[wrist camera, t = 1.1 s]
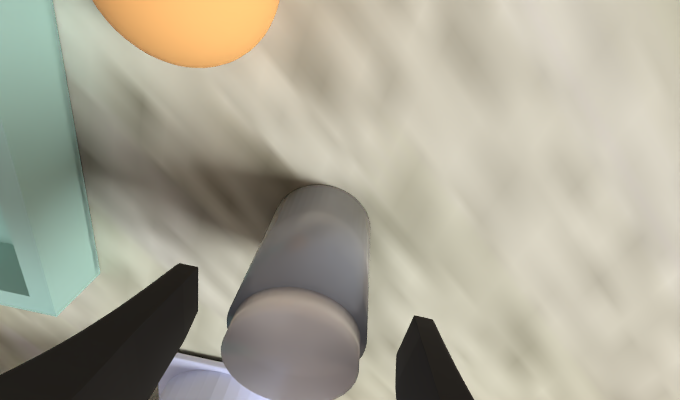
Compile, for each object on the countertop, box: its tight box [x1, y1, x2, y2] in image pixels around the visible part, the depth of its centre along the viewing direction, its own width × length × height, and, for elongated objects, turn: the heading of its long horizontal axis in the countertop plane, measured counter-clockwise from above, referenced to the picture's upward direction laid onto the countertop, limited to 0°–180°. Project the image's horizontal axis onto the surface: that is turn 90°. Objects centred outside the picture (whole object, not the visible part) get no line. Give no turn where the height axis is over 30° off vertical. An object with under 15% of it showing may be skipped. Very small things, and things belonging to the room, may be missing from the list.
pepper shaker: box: [221, 185, 370, 400], centre depth 13 cm, size 4×4×7 cm
